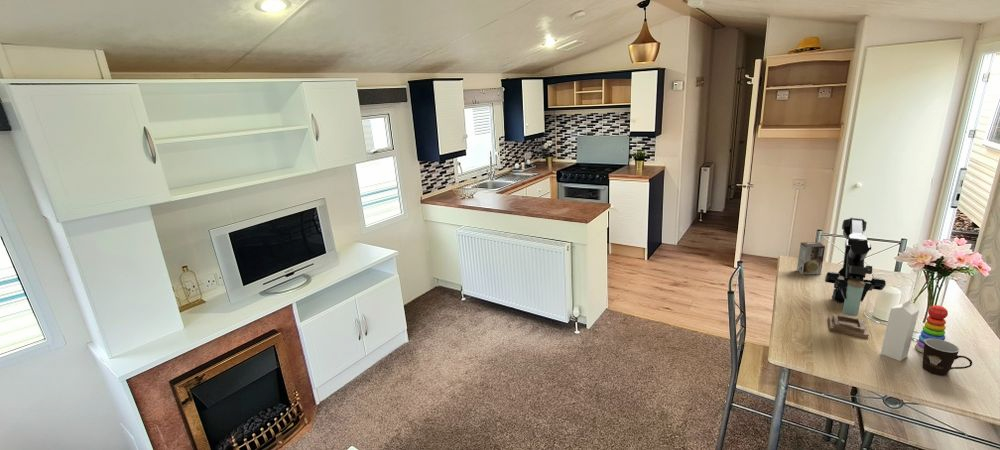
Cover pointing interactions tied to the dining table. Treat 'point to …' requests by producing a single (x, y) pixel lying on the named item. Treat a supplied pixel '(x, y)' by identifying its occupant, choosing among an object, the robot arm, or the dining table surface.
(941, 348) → the coffee mug
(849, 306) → the cup
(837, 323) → the brown wooden square tray
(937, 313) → the stacking toy
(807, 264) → the coffee box
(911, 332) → the milk
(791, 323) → the dining table surface
